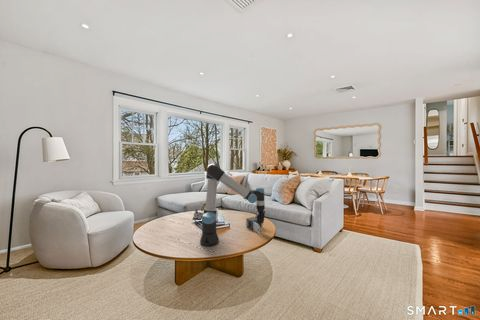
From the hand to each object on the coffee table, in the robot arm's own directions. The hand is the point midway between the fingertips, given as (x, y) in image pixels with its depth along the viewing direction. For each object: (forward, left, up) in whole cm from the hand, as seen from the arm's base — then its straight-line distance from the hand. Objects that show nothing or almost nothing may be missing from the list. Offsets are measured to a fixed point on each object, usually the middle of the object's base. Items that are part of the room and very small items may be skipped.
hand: (260, 230), depth 191 cm
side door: (-3, +4, -3) cm, 5 cm away
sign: (-27, +62, -3) cm, 67 cm away
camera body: (+3, +15, -2) cm, 15 cm away
